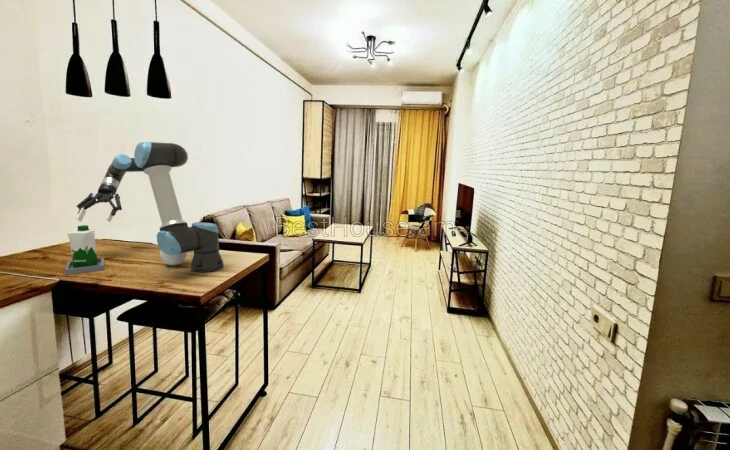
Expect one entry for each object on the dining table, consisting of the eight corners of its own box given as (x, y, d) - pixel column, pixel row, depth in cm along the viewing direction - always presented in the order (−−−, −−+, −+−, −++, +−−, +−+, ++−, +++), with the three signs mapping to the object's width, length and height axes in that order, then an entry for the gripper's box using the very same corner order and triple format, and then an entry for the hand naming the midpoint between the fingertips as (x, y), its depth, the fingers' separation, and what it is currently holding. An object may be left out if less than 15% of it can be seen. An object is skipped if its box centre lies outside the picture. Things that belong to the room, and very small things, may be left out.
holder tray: (104, 269, 163) (103, 264, 163) (65, 274, 155) (64, 269, 154) (104, 262, 174) (103, 257, 173) (68, 266, 166) (67, 261, 165)
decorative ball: (171, 270, 166) (169, 246, 164) (155, 266, 171) (153, 243, 169) (192, 263, 177) (191, 241, 175) (177, 260, 182) (175, 238, 179)
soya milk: (100, 263, 170) (96, 224, 166) (91, 269, 161) (86, 228, 157) (80, 264, 167) (74, 225, 163) (69, 270, 159) (63, 229, 155)
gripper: (136, 192, 186) (124, 224, 174) (87, 191, 183) (71, 224, 171) (130, 183, 180) (116, 216, 168) (79, 182, 177) (61, 215, 165)
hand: (93, 220), depth 169 cm, fingers open, 13 cm apart
